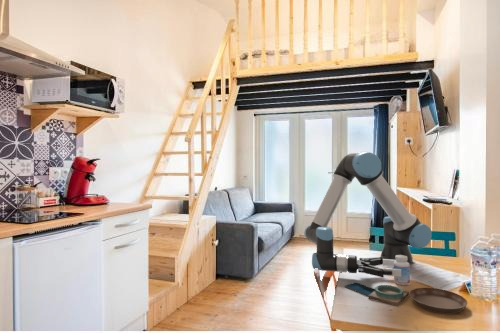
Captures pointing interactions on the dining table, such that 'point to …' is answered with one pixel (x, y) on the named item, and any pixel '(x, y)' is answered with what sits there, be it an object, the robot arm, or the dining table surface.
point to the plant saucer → (438, 300)
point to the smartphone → (360, 288)
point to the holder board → (389, 301)
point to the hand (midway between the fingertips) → (400, 268)
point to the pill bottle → (402, 270)
